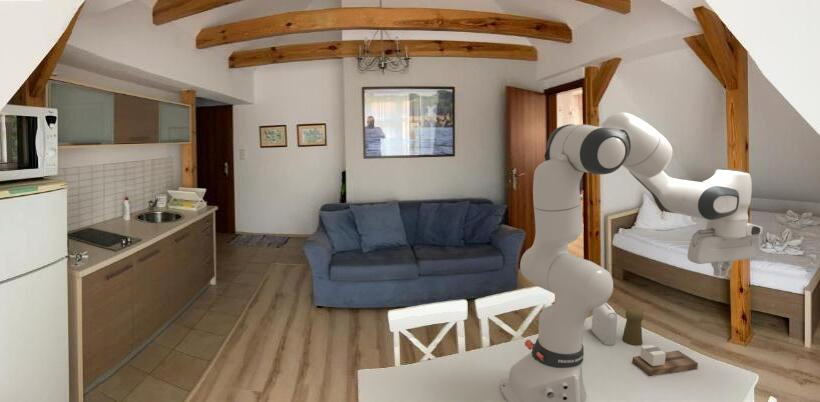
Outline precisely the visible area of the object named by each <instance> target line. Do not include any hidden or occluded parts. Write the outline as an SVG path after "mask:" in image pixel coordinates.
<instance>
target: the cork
mask: <svg viewBox="0 0 820 402" xmlns="http://www.w3.org/2000/svg"><path fill="white" fill-rule="evenodd" d="M625 318H626V321H625V322H626V323H625V325H624V330H623V334H622V338H621V339H622V342H623V343H625V344H626V345H630V346H634V347H641V346H643V331H642V329H643V328H642V321H643V320H644V313H643V311H642V310H640V309H637V308H628V309H626V311H625Z"/></svg>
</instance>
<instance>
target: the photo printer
mask: <svg viewBox="0 0 820 402" xmlns="http://www.w3.org/2000/svg"><path fill="white" fill-rule="evenodd" d="M591 320H592V321H591V322H592V323H591V331H592V333H593V334H594V336H595V337H596V338H597V339H598V340H600V341H601V342H602V343H603V344H604V345H605V346H615V344H616V339H617V324H618V323H617V321H618V316H617V313H616V311H615V310H614V308H613V307H612V306H611V305H609V304H608V303H607V302H606V303H604V304H603V305H601V306H599V307H596V308H594V309H593V310H592V319H591Z"/></svg>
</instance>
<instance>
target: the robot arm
mask: <svg viewBox="0 0 820 402" xmlns="http://www.w3.org/2000/svg"><path fill="white" fill-rule="evenodd" d="M672 158H673V146H672V145H671V143H670V142H669V140H668V139H667V138H666V137H665V136H664V135H663V134H662V133H661V132H659V131H658V130H657V129H656V128H654V127H653V126H652V125H651V124H649V123H648V122H646V121H644V120H643V119H642V118H639V116H638V117H637V116H636V115H635V114H632V113H629V112H624V111H621V112H617V113H616V112H615V113H613V114H611V115H610V116H609V117H607V118H606V119H605V120H604V121H603V122H602V124H601V125H600V126H596V125H591V124H573V123H570V124H565V125H561V126H559V127H556V128H555V129H554V130H553V131H552V132H551V133H550V135H549V137H548V138H547V142H546V150H545V153H544V159H545V161H542V162H541V163H539V164H538V165H537V166H536V168H535V170H534V172H533V173H534V174H533V175H534V176H533V183H532V184H533V185H532V197H533V199H532V201H533V211H534V224H535V233H534V234H535V237H534V240H533V243H532V246H530V247H529V248H527V249H526V250H525V252H524V253H523V255H522V256H521V259H520V263H519V268H520V272H521V274H522V276H523V277H524V278H525V279H527V280H528V281H529V282H530V283H532V284H534V285H535V286H537V287H539V288H541V289H543V290H545V291H548V292H550V293H551V294H554V296H555V297H554V298H555V299H554V300H555V301H554V304H552V305H547V306H546V307H544V309H542V311H540V313H539V316H538V335H537V336H538V337H537V338H536V341H535V342H534V343H533V342H532V341H531V340H530V339H526V340H525V341H524V346H525V347H526V348H527V350H530V351H531V352H528V354H526V355H525V356H524V357H522V358H521V359H520V360H519V361H517V362H516V363H514V364H513V365H512V366H511V368H510V370H509V374H508V376H507V377H505V378H502V379H501V380H500V384H499V389H500V393H501V394H502V396H503V398H504V399H505V401H506V402H585V401H586V399H587V393H586V391H585V385H584V379H583V367H582V366H583V362H584V354H585V352H584V350H585V348H584V345H583V340H584V338H583V337H584V329H585V323H586V319H587V317H588V315H590V313H591V311H593V309H594V308H596V307H599V306H601V305H603V304H604V303H607V302H608V301H609V299H610V298H611V296H612V294H613V291H614V281H613V277H612V275H611V273H610V272H609V271H608V270H607V269H605V268H604V267H602V266H600V265H598V264H597V263H596V262H593V261H592V260H588V259H585V258H582V257H579V256H577V255H573V254H571V253H570V252H569V247H568V246H569V244H572V243H573V242H575V241H576V240H578V238H580V236H581V234H582V233H583V230H584V229H583V228H584V226H583V224H584V223H583V212H582V200H581V191H580V185H581V181H582V177H583V175H584V173H590V174H593V175H600V176H601V175H608V174H612V173H614V172H616V171H618V170H619V169H620V168H621V167H622V166H623V168H625V169H626V170H628V172H629V174H631V175H632V177H634V178H635V180H637V181H638V182H639V183H640V184H641V185H642V186H643V187H644V188H645V189H646V190H648V192H649V193H650V195H652V198H653V199H654V203H656V206H657V207H658V208H659V209H660V210H661V211H663V212H665V213H670V214H678V215H683V216H686V217H691V218H697V219H700V220H706V227H705V229H697V231H695V232H694V233H693V234H692V235H691V236H692V237H691V239H690V242H689V244H688V245H689V246H688V249H687V250H688V251H687V257H686V258H687V259H688V261H689V262H692V263H694V264H697V265H704V264H711V266H712V269H713V276H715V277H727V276H729V270H730V269H731V268H732V266H733V265H734V262H736V261H744V260H753V259H757V258H758V256H759V254H760V251H761V243H762V238H761V236H760V235H762V234H763V231H764V228H763V227H762V226H760V225H756V224H754V223H753V224H752V223H750V222H749V214H748V210H749V207H750V205H751V202H752V201H751V200H752V193H753V191H752V190H753V188H752V187H753V186H752V185H753V184H752V183H753V181H752V176H751V175H750V173H748V172H747V171H745V170H741V169H740V170H739V169H731V168H718V169H717V168H716V169H715V171H714V174H713V175H712V176H711V177H709V178H708V179H706V180H702V182H701V181H695V180H687V179H683V178H679V177H678V178H677V177H671V176H669V175H668V174H667V173H666V172H665V169H666V168H667V167H668V165H669V164H670V163H671V161H672Z"/></svg>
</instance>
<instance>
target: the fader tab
mask: <svg viewBox="0 0 820 402" xmlns="http://www.w3.org/2000/svg"><path fill="white" fill-rule="evenodd" d="M639 350H640V352H639V353H640V354H639V356H640V357H641V358H642V359H644V360H645V361H646V362H648V363H649V364H650V365H652V366H658V365H664V364H665V357H666V353H664V350H662V349H661V348H659V346H655V345H654V344H648V345H647V344H646V345H640V349H639Z"/></svg>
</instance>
